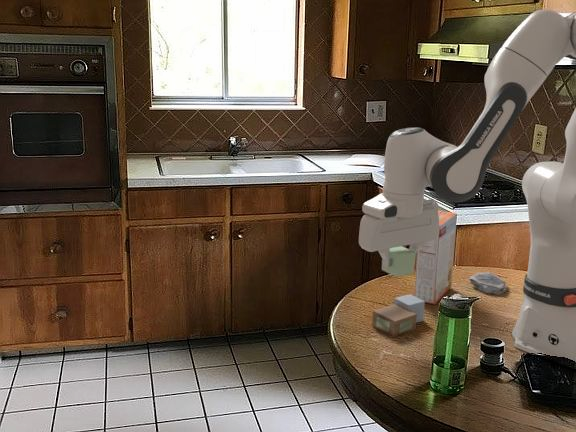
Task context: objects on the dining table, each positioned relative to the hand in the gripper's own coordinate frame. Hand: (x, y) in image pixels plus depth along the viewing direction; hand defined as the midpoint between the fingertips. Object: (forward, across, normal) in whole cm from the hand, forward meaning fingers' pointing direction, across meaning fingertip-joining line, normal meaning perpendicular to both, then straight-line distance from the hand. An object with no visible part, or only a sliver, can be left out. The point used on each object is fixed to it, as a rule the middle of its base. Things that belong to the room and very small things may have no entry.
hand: (398, 263), depth 144 cm
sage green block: (+2, 0, 0) cm, 2 cm away
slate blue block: (+16, -7, -3) cm, 18 cm away
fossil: (+16, -40, -9) cm, 44 cm away
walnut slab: (+16, -1, -1) cm, 16 cm away
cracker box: (+16, -23, -12) cm, 30 cm away
